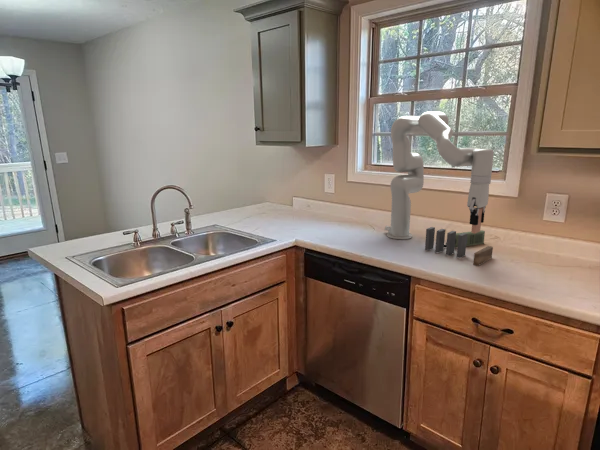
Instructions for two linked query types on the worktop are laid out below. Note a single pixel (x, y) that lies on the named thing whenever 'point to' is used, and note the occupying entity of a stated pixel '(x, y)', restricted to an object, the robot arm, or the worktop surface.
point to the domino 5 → (477, 227)
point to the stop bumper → (482, 255)
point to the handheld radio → (472, 238)
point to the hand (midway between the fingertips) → (476, 222)
